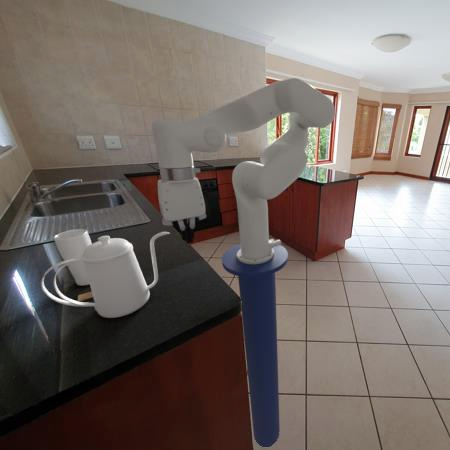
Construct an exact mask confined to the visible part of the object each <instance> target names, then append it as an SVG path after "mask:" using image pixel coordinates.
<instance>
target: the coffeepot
mask: <svg viewBox="0 0 450 450" xmlns="http://www.w3.org/2000/svg"><path fill="white" fill-rule="evenodd" d="M170 234H171V232H169V231H161V232H158V233H156V234H154V235H153V236H152V237H151V238H150V241H149V251H150V255H151V256H150V257H151V262H152V269H153V276H154V277H153V279H154V280H153V281H152V282H151V283H150V284H149V285H147V282H146V280H145V277H144V275H143V271H142V269H141V267H140V263H139V261H138V258H137V257H136V256H137V255H136V254H135V252H134V246H133V243H131V242H129V241H128V240H126V239H125V238H120V237H113V238H111V237H110V235H102V236H99V237H98V238H97V241H95V242H92V244H91V245H89V246H88V247H87V248H86V249H85V250H84V252H83V254H82V256H81V258H76V259H70V260H66V261H64V260H63V261H59V262H58V263H56V264H54V265H52V266H51V267H49V268H48V269H47V270H46V271H45V272H44V274H43V276H42V278H41V281H40V286H41V287H40V288H41V290H42V292H43V293H44V294H45V295H46V296H47V297H48V298H49V299H50V300H53V301H54V302H56V303H58V304H62V305H65V306H70V307H71V306H72V307H82V308H83V307H94V310H95V311H96V313H97V314H98V315H99V316H100V317H102V318H106V319H115V318H116V319H117V318H121V317H125V316H128V315H130V314H133V313H134V312H136V311H138V310H140V309H141V308H143V306H145V304H147V302H148V301H149V299H150V297H151V296H150V295H151V293H150V289H152V288H153V287H155V286H156V285H157V283H158V281H159V272H158V264H157V257H156V250H155V241H156V239H158V238H161V237H163V236H166V235H170ZM79 261H82V262H83V265H84V266H85V268H86V271H87V275H88V279H89V283H90V284H89V287H90V290H91V291H90V292H92V294H93V298H92V299H93V301H94V302H89V301H87V302H86V301H85V302H84V301H81V302H78V300H74V299H72V298H70V297H67V296H66V295H64V294H63V293H62V291H60V289H59V288H58V285H57V281H56V279H57V276H58V274H59V272H60V271H62V270H63V269H64V268H65V267H67V265H68V264H70V263H74V262H79ZM59 266H60V267H59ZM57 267H59V268H58V269H57V271H56V273H54V274H55V275H54V276H53V287H54V291H55V293H56V295H58V297H57V296H55V295H53V294H52V293H51V292H49V290H48V289H47V287H46V286H45V282H44V281H45V276H46V275H47V274H48V273H49V272H51V271H52V270H53V269H55V268H57Z"/></svg>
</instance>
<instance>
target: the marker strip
mask: <svg viewBox="0 0 450 450" xmlns="http://www.w3.org/2000/svg"><path fill="white" fill-rule="evenodd" d="M91 299H94V298H93V294H92V291H88V292H84V293H82V294H79V295H77V301H78V302H84V301H87V300H91Z"/></svg>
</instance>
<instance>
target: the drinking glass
mask: <svg viewBox="0 0 450 450" xmlns="http://www.w3.org/2000/svg"><path fill="white" fill-rule="evenodd" d="M53 240H54V243H55V246H56V248H57V251H58V253H59V255H60V256H61V258H62V260H63V261H66V260H70V259H76V258H81V256H82V254H83V252H84V250H85V249H86V248H87V247H88V246H89V245H91V244H93V242H92V240H91V237H90V235H89V231H88V230H87V229H84V228H78V229H77V228H76V229H70V230H66V231H62V232H60V233H57V234H55V235H54V236H53ZM66 267H67V268H68V270H69V272H70V274H71V276H72V278H73V280H74V282H75V284H76V285H77V286H81V287H82V286H90V283H89V279H88V275H87V271H86V268H85V266H84V265H83V262H82V261H79V262H74V263H70V264H68V265H67V266H66Z"/></svg>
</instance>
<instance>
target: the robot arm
mask: <svg viewBox="0 0 450 450" xmlns="http://www.w3.org/2000/svg"><path fill="white" fill-rule="evenodd" d="M285 114H288V127H287V129H286V130H285V132H283V133H282V134H281V135H280V136H279V137H277V138H276V139H275V140H274V141H272V142H271V143H270V144H268V145H266V147H265V148H264V149H263V150H262V151H261V153H260V156H259V161H260V162H256V161H251V160H250V161H249V160H248V161H246V160H245V161H241V162H240V163H238V164H237V165H236V166H235V167H234V169H233V171H232V174H231V182H232V187H233V190H234V196H235V200H236V207H237V208H236V209H237V219H238V220H237V221H238V230H239V241H240V243H239V244H241V249H240V250H239V251H238V252H237V259H238V260H239V261H240V262H242V263H245V264H261V263H265V262H267V261H269V260H270V259H272V258H273V256H274V250H273V249H272V248H274V246H278V245H281V246H282V241H281V240H280V239H276V240H275V239H274V238H270V232H269V230H270V229H269V206H268V200H272V199H275V198H276V197H278V196H279V195H280V194H282V193H283V192H284V191H286V189H287V188H289V186H290V185H292V184H293V183H294V182H296V180H297V179H298V178H300V177H301V175H302V174H304V171H305V169H306V167H307V163H308V156H307V152H306V149H307V146H308V142H309V138H308V137H309V128H319V129H320V128H327V127H329V126H330V125H331V124H332V123H333V122H334V119H335V116H336V108H335V104H334V102H333V101H332V100H331V99H330V97H328V95H326V94H324V93H323V92H321V91H320V90H318V89H317V88H316V87H314V86H313V85H311V84H310V83H308V82H306V81H304V80H303V79H300V78H297V77H291V78H287V79H281V80H278V81H277V80H276V81H275V82H272V83H268V84H267V85H265V86H263V87H260V88H259V89H257V90H254V91H253V92H252V91H251V92H250V93H248V94H246V95H244V96H241V97H238V98H236V99H235V100H233V101H230V102H228V103H226V104H224V105H221V106H219V107H217V108H215V109H212V110H210V111H208V112H206V113H203V114H201V115H199V116H196V117H194V118H192V119H190V120H187V121H184V120H182V119H173V118H156V119H154V120H152V122H151V130H152V131H151V132H152V136H153V142H154V146H155V147H154V148H155V152H156V156H157V157H156V158H157V163H158V168H159V173H160V179H158V180H157V196H158V197H157V198H158V205H159V210H160V215H161V216H162V217H161V218H162V219H161V223H162V225H163V226H169V227H170V226H173V227H175V228H177V229H178V230H179V231H180V236H181V240H182V241H184V242H185V243H186V245H187V244H190V243H191V244H192V243H194V239H195V237H196V236H195V228H196V225H197V224H198V223H199V221H202V220H204V219H206V218H207V214H206V203H205V199H204V195H203V191H202V186H201V183H200V181H199V178H198V177H197V174H201V168H200V167H196V166H195V165H194V159H193V152H201V153H217V152H218V151H220V150H221V149H223V147H224V146H225V144H226V141H227V137H228V136H231V135H235V134H239V133H245V132H249V131H253V130H256V129H258V128H260V127H262V126H263V125H265V124H267V123H269V122H270V121H272V120H274V119H277V118H278V117H280V116H283V115H285ZM184 220H186V224H185V222H184Z"/></svg>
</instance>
